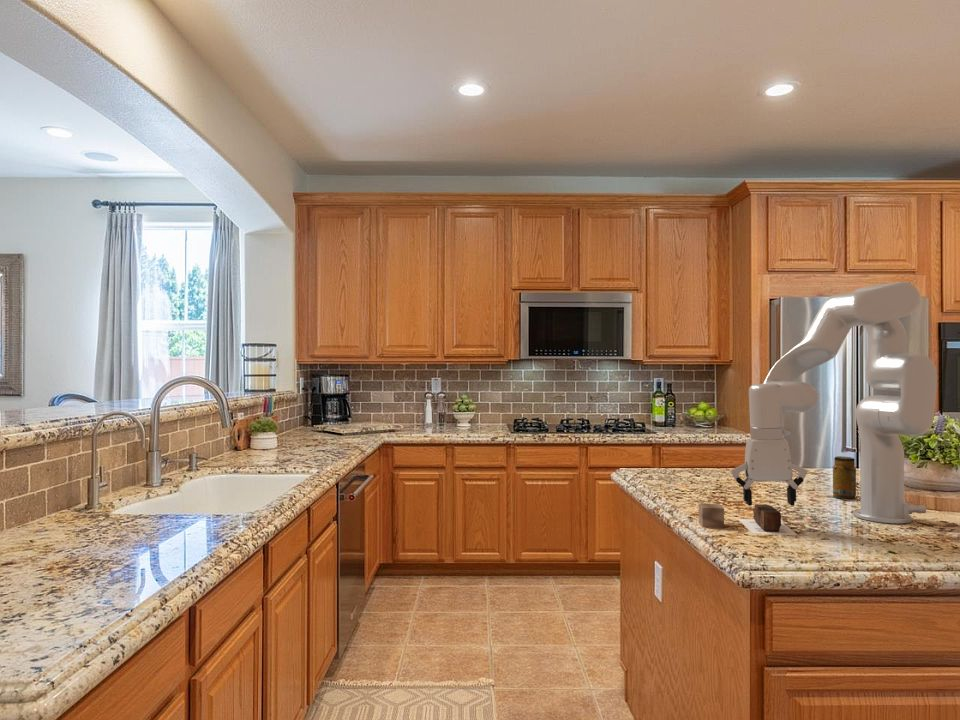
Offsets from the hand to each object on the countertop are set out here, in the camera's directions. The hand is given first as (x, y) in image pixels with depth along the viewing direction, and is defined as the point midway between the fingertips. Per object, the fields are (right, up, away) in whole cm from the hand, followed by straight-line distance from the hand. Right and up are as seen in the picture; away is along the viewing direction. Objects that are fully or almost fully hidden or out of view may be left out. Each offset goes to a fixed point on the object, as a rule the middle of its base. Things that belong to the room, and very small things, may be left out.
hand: (769, 504), depth 154 cm
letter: (-1, -6, 0) cm, 6 cm away
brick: (-1, -5, -1) cm, 6 cm away
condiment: (+39, -6, +34) cm, 52 cm away
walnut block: (-14, -6, +1) cm, 15 cm away
